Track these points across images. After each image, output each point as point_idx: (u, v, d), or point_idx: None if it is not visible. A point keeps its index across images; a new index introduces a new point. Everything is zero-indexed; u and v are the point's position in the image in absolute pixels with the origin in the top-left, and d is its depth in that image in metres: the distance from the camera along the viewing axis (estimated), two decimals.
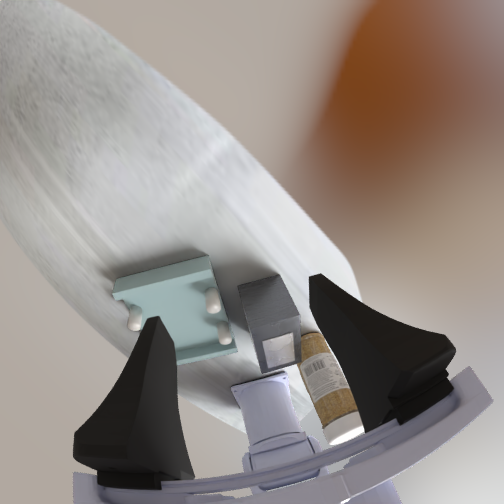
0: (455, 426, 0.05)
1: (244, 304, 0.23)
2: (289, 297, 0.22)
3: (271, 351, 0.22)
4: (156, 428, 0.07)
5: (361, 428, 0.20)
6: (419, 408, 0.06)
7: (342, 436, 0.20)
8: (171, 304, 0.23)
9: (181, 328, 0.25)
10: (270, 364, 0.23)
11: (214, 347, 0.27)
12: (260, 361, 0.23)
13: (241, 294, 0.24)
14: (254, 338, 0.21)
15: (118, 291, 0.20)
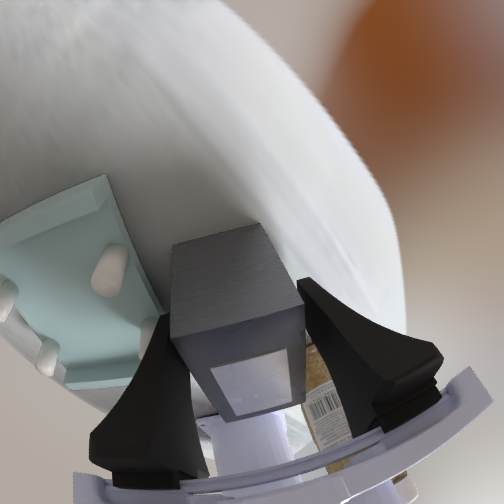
0: (454, 426, 0.05)
1: (173, 279, 0.10)
2: (278, 263, 0.10)
3: (236, 387, 0.09)
4: (174, 426, 0.07)
5: None
6: (404, 417, 0.06)
7: None
8: (54, 279, 0.10)
9: (83, 326, 0.12)
10: (240, 410, 0.10)
11: None
12: (217, 405, 0.10)
13: (174, 260, 0.11)
14: (188, 361, 0.08)
15: None
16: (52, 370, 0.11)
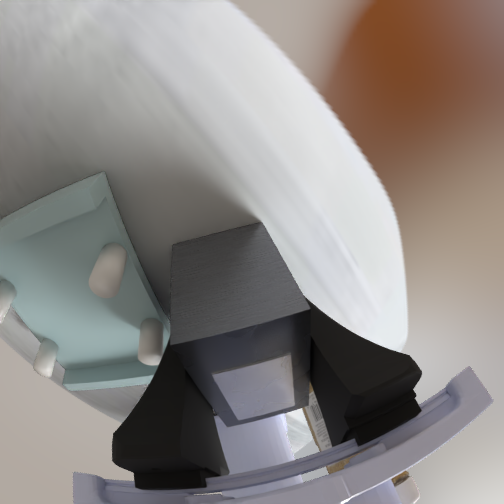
0: (454, 426, 0.05)
1: (173, 282, 0.09)
2: (282, 265, 0.09)
3: (239, 393, 0.09)
4: (198, 423, 0.07)
5: None
6: (379, 430, 0.06)
7: None
8: (51, 279, 0.10)
9: (81, 327, 0.12)
10: (242, 415, 0.10)
11: (145, 366, 0.13)
12: (218, 410, 0.10)
13: (174, 261, 0.10)
14: (189, 367, 0.08)
15: None
16: (50, 371, 0.11)
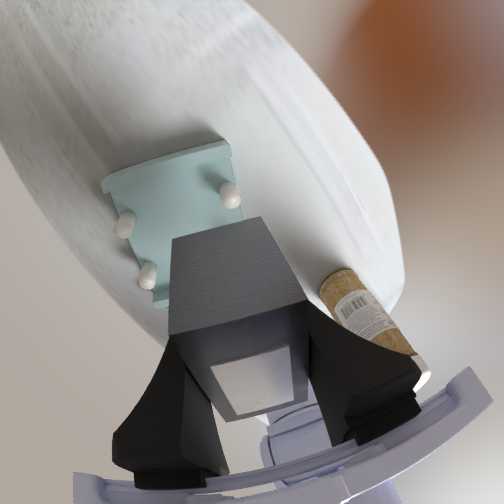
0: (454, 426, 0.05)
1: (172, 274, 0.09)
2: (280, 257, 0.09)
3: (237, 386, 0.09)
4: (198, 423, 0.07)
5: (424, 377, 0.15)
6: (379, 430, 0.06)
7: None
8: (174, 206, 0.18)
9: None
10: (241, 409, 0.10)
11: None
12: (217, 404, 0.10)
13: (173, 254, 0.10)
14: (187, 359, 0.08)
15: (108, 179, 0.15)
16: (154, 282, 0.19)
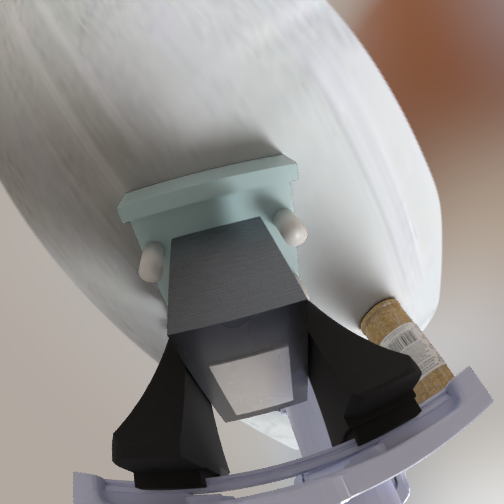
0: (455, 426, 0.05)
1: (171, 274, 0.09)
2: (279, 257, 0.09)
3: (236, 386, 0.09)
4: (198, 423, 0.07)
5: None
6: (379, 430, 0.06)
7: None
8: None
9: None
10: (240, 409, 0.10)
11: None
12: (216, 404, 0.10)
13: (172, 254, 0.10)
14: (186, 359, 0.08)
15: (128, 204, 0.11)
16: None
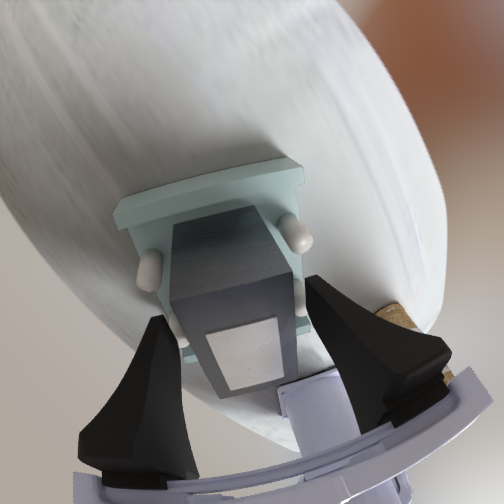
0: (454, 426, 0.05)
1: (173, 253, 0.10)
2: (269, 238, 0.10)
3: (230, 357, 0.10)
4: (161, 427, 0.07)
5: (474, 420, 0.11)
6: (414, 411, 0.06)
7: (456, 435, 0.11)
8: None
9: None
10: (234, 384, 0.11)
11: None
12: (211, 377, 0.11)
13: (174, 237, 0.12)
14: (185, 326, 0.09)
15: (124, 210, 0.11)
16: None
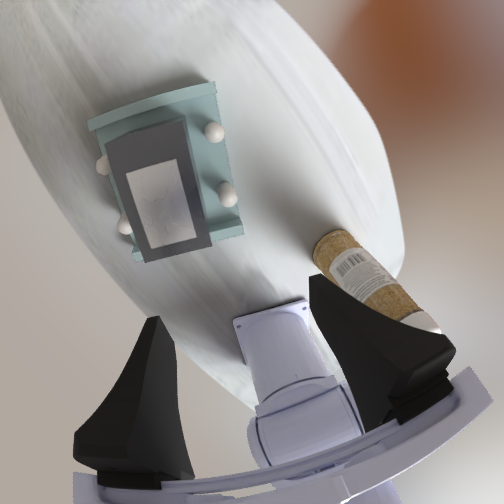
0: (455, 426, 0.05)
1: None
2: (181, 118, 0.13)
3: (145, 201, 0.13)
4: (156, 428, 0.07)
5: None
6: (419, 408, 0.06)
7: None
8: None
9: None
10: (153, 238, 0.14)
11: (212, 227, 0.20)
12: (134, 228, 0.13)
13: None
14: (113, 166, 0.12)
15: (94, 117, 0.13)
16: None
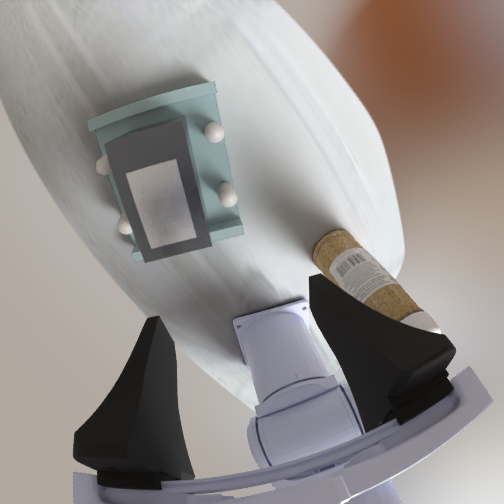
0: (455, 426, 0.05)
1: None
2: (181, 118, 0.13)
3: (145, 201, 0.13)
4: (156, 428, 0.07)
5: None
6: (419, 408, 0.06)
7: None
8: None
9: None
10: (152, 238, 0.14)
11: (212, 227, 0.20)
12: (134, 228, 0.13)
13: None
14: (113, 166, 0.12)
15: (94, 117, 0.13)
16: None
